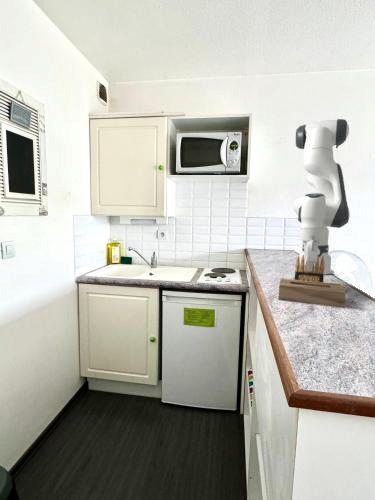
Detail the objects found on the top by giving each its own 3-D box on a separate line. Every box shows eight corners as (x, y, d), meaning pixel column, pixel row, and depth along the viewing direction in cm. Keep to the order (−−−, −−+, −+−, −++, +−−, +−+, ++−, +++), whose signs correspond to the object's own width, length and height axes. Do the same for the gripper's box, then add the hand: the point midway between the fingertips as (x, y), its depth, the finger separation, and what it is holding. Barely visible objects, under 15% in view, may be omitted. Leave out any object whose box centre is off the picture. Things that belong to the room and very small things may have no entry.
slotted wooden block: (280, 291, 106) (280, 278, 105) (338, 297, 99) (340, 283, 98) (278, 299, 96) (279, 285, 95) (343, 307, 89) (345, 292, 88)
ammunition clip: (323, 285, 109) (325, 255, 107) (323, 286, 107) (325, 256, 106) (294, 282, 113) (295, 253, 111) (293, 283, 111) (295, 254, 110)
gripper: (323, 238, 97) (320, 277, 99) (318, 233, 116) (316, 266, 118) (303, 237, 99) (301, 275, 101) (302, 233, 118) (300, 265, 120)
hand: (309, 270), depth 109 cm, fingers closed on ammunition clip, 1 cm apart
